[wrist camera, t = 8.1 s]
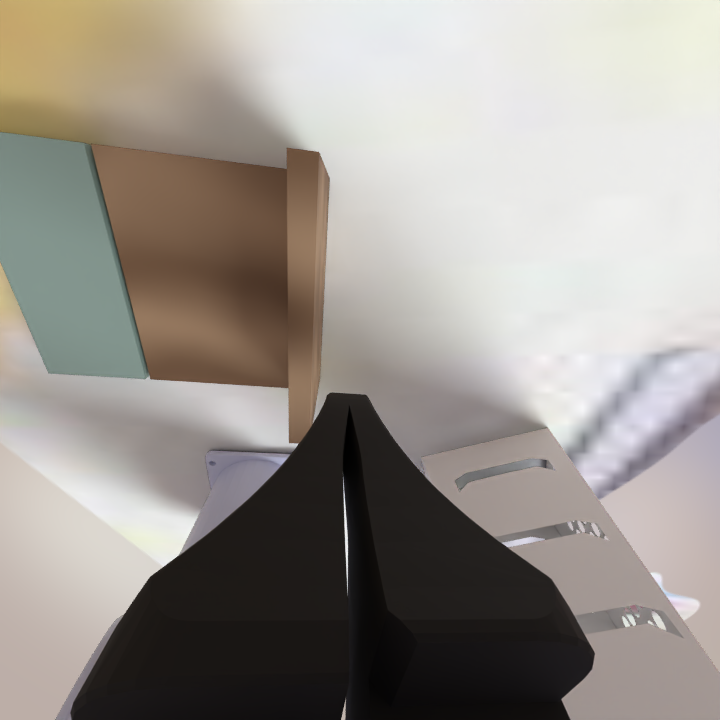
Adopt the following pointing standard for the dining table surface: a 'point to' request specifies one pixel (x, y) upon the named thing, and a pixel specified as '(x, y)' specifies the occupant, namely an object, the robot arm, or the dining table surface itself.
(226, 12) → the dining table surface
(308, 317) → the cart bed
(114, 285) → the panel
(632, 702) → the grater
